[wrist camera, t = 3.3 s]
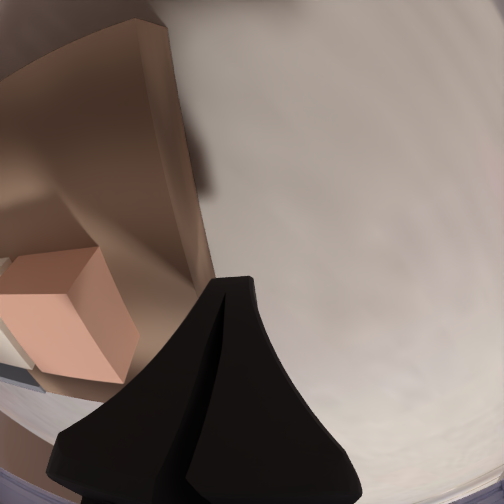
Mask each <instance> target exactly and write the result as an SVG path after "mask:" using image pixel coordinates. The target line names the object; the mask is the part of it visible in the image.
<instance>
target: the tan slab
mask: <svg viewBox="0 0 504 504" xmlns="http://www.w3.org/2000/svg"><path fill="white" fill-rule="evenodd" d="M98 246H99V247H100V250H101V252H102V255H103V257H104V259H105V262H106V264H107V267H108V269H109V271H110V273H111V276H112V278H113V280H114V283H115V285H116V287H117V289H118V291H119V293H120V296H121V298H122V300H123V302H124V304H125V306H126V308H127V310H128V312H129V314H130V316H131V318H132V320H133V322H134V324H135V326H136V328H137V330H138V332H139V334H140V338H139V341H138V344H137V346H136V349H135V352H134V355H133V358H132V361H131V364H130V367H129V370H128V373H127V376H126V379H125V382H124V384H121V383H111V382H103V381H95V380H87V379H80V378H74V377H68V376H62V375H56V374H50V373H45V372H42V371H41V370H40V369H39V368H38V367H37V365H36V364H35V365H34V367H33V369H32V370H30V369H26V370H27V371H28V372H29V373H30V374H31V375H32V377H33V378H34V379H35V380H36V381H37V382H38V383H39V384H40V385H41V387H42V388H43V389H44V390H45V391H47V392H51V393H55V394H60V395H65V396H69V397H74V398H80V399H85V400H91V401H97V402H103V403H105V402H107V401H108V400H109V399H110V398H112V397H113V396H114V395H115V394H117V393H118V392H119V391H120V390H121V389H122V388H124V387H125V386H126V385H127V384H128V383H129V382H130V381H131V380H132V379H133V378H134V377H135V376H136V375H137V374H138V373H140V372H141V371H142V370H143V369H144V368H145V366H146V365H147V364H148V363H149V362H150V361H151V360H152V359H153V358H154V357H155V356H156V355H157V353H158V352H159V351H160V350H161V349H162V348H163V346H164V345H165V344H166V343H167V341H168V340H169V339H170V337H171V336H172V335H173V334H174V332H175V331H176V330H177V329H178V327H179V326H180V324H181V323H182V322H183V320H184V319H185V317H186V316H187V315H188V313H189V312H190V310H191V309H192V307H193V306H194V304H195V303H196V301H197V300H198V298H199V297H200V295H201V294H202V292H203V290H204V289H205V287H206V286H207V284H208V282H209V281H210V280H211V279H212V278H216V277H215V273H214V268H213V264H212V260H211V255H210V251H209V247H208V242H207V238H206V233H205V229H204V224H203V220H202V215H201V210H200V206H199V201H198V196H197V192H196V187H195V182H194V177H193V172H192V167H191V162H190V157H189V152H188V147H187V142H186V136H185V131H184V126H183V120H182V115H181V109H180V104H179V98H178V92H177V87H176V81H175V75H174V69H173V62H172V56H171V50H170V43H169V37H168V30H167V28H166V27H163V26H160V25H157V24H154V23H150V22H147V21H144V20H141V19H137V18H133V19H130V20H127V21H124V22H121V23H118V24H115V25H113V26H110V27H107V28H105V29H102V30H99V31H97V32H94V33H92V34H89V35H87V36H85V37H82V38H80V39H78V40H75V41H73V42H71V43H69V44H67V45H65V46H62V47H60V48H58V49H56V50H54V51H52V52H50V53H48V54H46V55H44V56H43V57H41V58H39V59H37V60H35V61H33V62H32V63H30V64H28V65H26V66H24V67H23V68H21V69H19V70H18V71H16V72H14V73H13V74H11V75H9V76H8V77H6V78H5V79H3V80H2V81H0V258H7V257H9V258H10V260H11V262H12V263H13V262H14V260H15V259H16V258H17V257H18V256H23V255H31V254H39V253H47V252H55V251H64V250H72V249H81V248H89V247H98Z"/></svg>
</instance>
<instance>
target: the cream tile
mask: <svg viewBox="0 0 504 504" xmlns="http://www.w3.org/2000/svg"><path fill="white" fill-rule="evenodd" d="M11 264H12V262H11V260H10V258H9V257H7V258H0V277H1V275H2V274H3V273H4V272H5V271H6V270H7V268H8V267H9V266H10V265H11ZM0 363H4V364H8V365H12V366H17V367H21V368H25V369H30V370H32V369H33V367H34V365H35V363H34V362H33V360H32V359H31V358H30V357H29V355H28V354H27V353H26V352H25V350H24V349H23V348H22V346H21V345H20V344H19V342H18V341H17V340H16V338H15V337H14V336H13V334H12V333H11V331H10V330H9V329H8V327H7V326H6V324H5V323H4V321H3V320H2V318H1V317H0Z"/></svg>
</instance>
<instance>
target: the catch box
mask: <svg viewBox="0 0 504 504" xmlns="http://www.w3.org/2000/svg"><path fill="white" fill-rule="evenodd" d="M0 381H2V382H5V383H9V384H12V385H15V386H19V387H22V388H26V389H29V390H33V391H37V392H41V393H46V391H45V390H44V389H43V388H42V387H41V385H40V384H39V383H38V382H37V381H36V380H35V379H34V378H33V377H32V375H31V374H30V373H29V372H28V371H27V370H26V369H25V368H21V367H17V366H12V365H8V364H4V363H0Z"/></svg>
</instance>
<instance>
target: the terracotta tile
mask: <svg viewBox="0 0 504 504" xmlns="http://www.w3.org/2000/svg"><path fill="white" fill-rule="evenodd" d="M0 317H1V318H2V320H3V321H4V323H5V324H6V326H7V327H8V329H9V330H10V331H11V333H12V334H13V336H14V337H15V338H16V340H17V341H18V342H19V344H20V345H21V346H22V348H23V349H24V350H25V352H26V353H27V354H28V355H29V357H30V358H31V359H32V360H33V362H34V363H35V364H36V365H37V367H38V368H39V369H40V370H41V371H42V372H45V373H50V374H56V375H62V376H68V377H74V378H80V379H87V380H95V381H103V382H111V383H121V384H124V382H125V379H126V376H127V373H128V370H129V367H130V364H131V361H132V358H133V355H134V352H135V349H136V346H137V344H138V341H139V338H140V334H139V332H138V330H137V328H136V326H135V324H134V322H133V320H132V318H131V316H130V314H129V312H128V310H127V308H126V306H125V304H124V302H123V300H122V298H121V296H120V293H119V291H118V289H117V287H116V285H115V283H114V280H113V278H112V276H111V273H110V271H109V269H108V267H107V264H106V262H105V259H104V257H103V255H102V252H101V250H100V247H99V246H98V247H89V248H81V249H72V250H64V251H55V252H47V253H39V254H31V255H23V256H18V257H17V258H16V259H15V260H14V262H13V263H12V264H11V265H10V266H9V267H8V268H7V270H6V271H5V272H4V273H3V274H2V275H1V277H0Z"/></svg>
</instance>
